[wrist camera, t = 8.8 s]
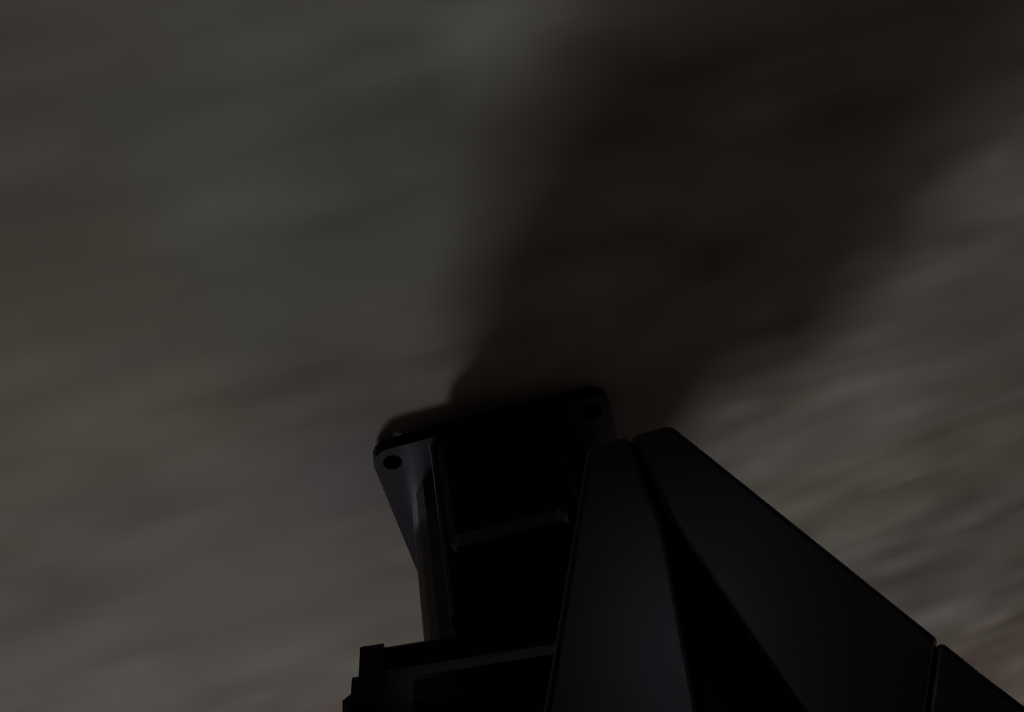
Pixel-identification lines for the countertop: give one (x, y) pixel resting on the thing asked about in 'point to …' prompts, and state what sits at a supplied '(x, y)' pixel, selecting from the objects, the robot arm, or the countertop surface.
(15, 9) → the countertop surface
